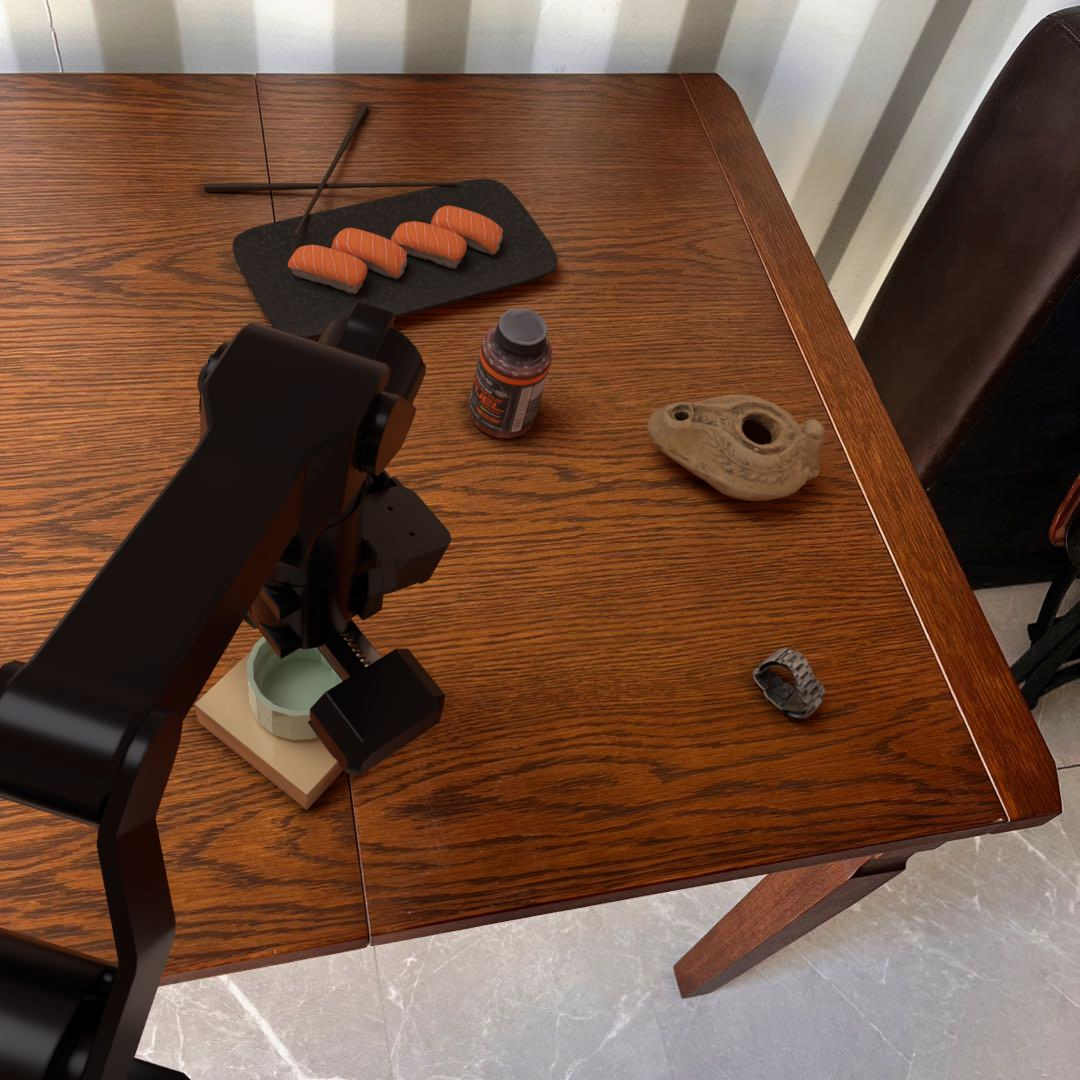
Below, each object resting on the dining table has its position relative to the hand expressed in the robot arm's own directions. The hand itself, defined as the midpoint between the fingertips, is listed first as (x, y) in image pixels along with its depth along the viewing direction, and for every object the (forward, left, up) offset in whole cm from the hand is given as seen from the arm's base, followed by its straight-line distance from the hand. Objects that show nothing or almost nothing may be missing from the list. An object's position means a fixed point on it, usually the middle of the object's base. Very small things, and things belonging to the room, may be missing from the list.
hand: (301, 678), depth 66 cm
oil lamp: (+43, -10, -12) cm, 46 cm away
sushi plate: (+45, +33, -12) cm, 57 cm away
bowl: (+2, +2, -9) cm, 9 cm away
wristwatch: (+27, -25, -12) cm, 39 cm away
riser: (+2, +2, -12) cm, 12 cm away
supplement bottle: (+34, +8, -12) cm, 37 cm away
